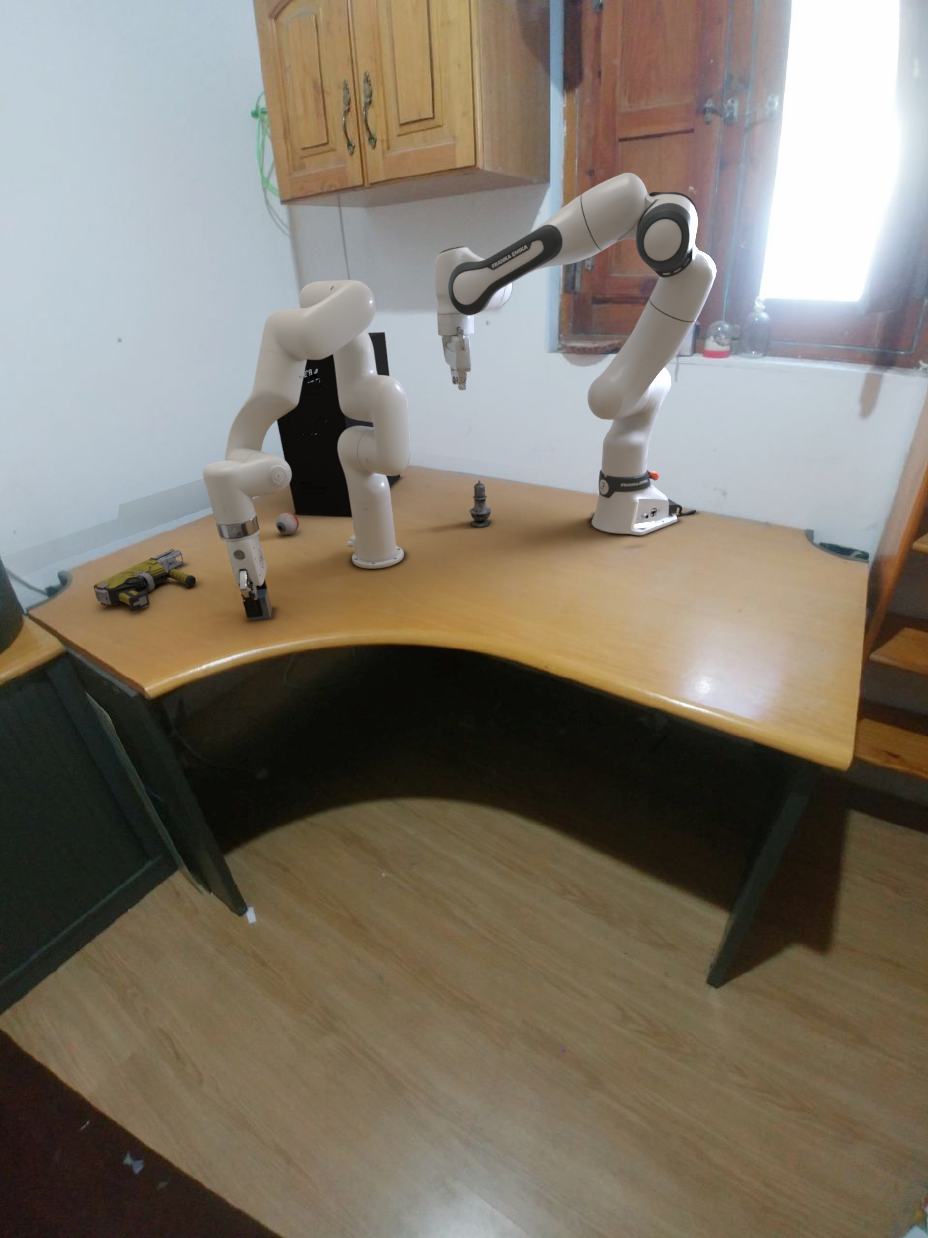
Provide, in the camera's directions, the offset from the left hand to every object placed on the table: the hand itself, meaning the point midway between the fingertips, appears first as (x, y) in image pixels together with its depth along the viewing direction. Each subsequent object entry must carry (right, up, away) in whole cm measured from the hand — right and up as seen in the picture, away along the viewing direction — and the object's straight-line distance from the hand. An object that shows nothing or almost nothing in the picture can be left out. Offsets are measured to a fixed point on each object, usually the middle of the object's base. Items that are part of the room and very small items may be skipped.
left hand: (258, 605), depth 125 cm
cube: (0, -2, +1) cm, 2 cm away
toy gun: (-27, +4, +15) cm, 32 cm away
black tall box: (+7, +37, +68) cm, 77 cm away
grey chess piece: (+47, +23, +40) cm, 66 cm away
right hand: (+41, +56, +27) cm, 75 cm away
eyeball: (-5, +20, +40) cm, 45 cm away
